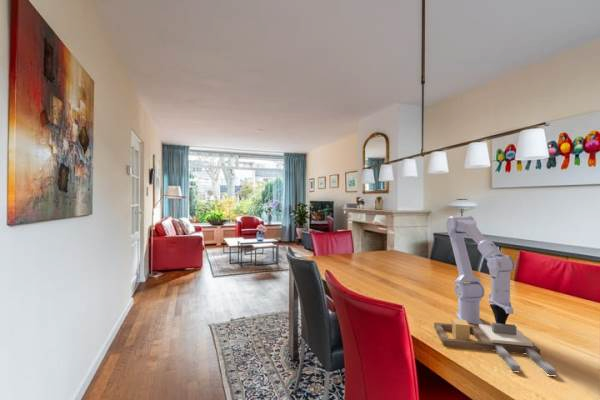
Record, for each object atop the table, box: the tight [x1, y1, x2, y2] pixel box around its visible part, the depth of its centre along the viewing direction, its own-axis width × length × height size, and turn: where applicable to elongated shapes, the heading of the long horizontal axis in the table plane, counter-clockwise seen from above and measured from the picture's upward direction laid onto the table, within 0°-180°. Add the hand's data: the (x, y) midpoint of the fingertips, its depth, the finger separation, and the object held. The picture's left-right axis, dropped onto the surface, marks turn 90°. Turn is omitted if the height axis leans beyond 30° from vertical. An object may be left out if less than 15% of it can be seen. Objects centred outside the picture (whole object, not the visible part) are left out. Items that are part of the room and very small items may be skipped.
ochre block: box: [451, 318, 471, 341], centre depth 105 cm, size 4×4×6 cm
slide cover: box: [478, 322, 534, 346], centre depth 102 cm, size 12×12×4 cm
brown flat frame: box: [433, 322, 557, 376], centre depth 98 cm, size 26×29×2 cm
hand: (500, 325), depth 105 cm, fingers closed
